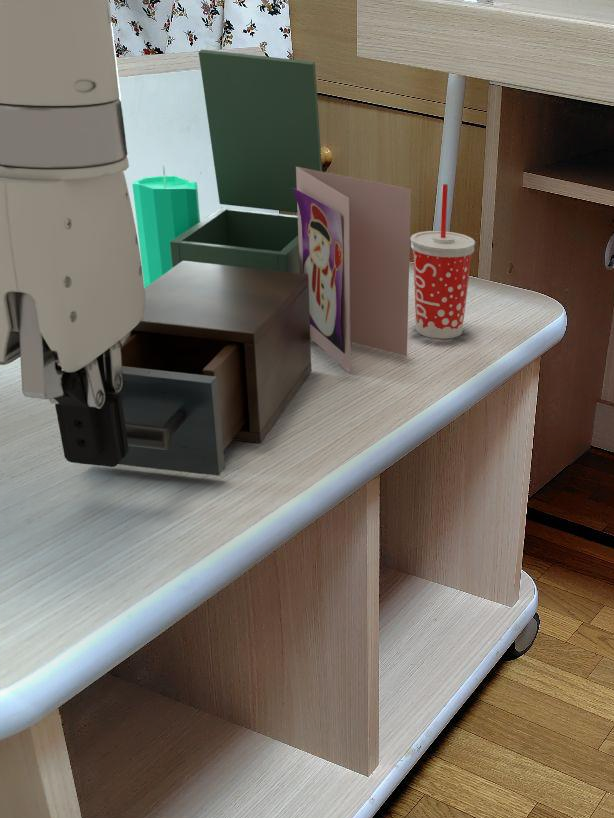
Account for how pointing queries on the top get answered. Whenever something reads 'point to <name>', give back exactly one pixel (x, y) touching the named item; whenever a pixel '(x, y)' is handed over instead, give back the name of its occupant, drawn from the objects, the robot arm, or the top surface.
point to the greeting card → (354, 261)
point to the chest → (241, 241)
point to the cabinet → (241, 327)
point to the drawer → (182, 400)
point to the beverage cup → (441, 278)
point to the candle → (162, 219)
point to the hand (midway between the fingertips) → (97, 458)
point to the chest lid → (260, 126)
